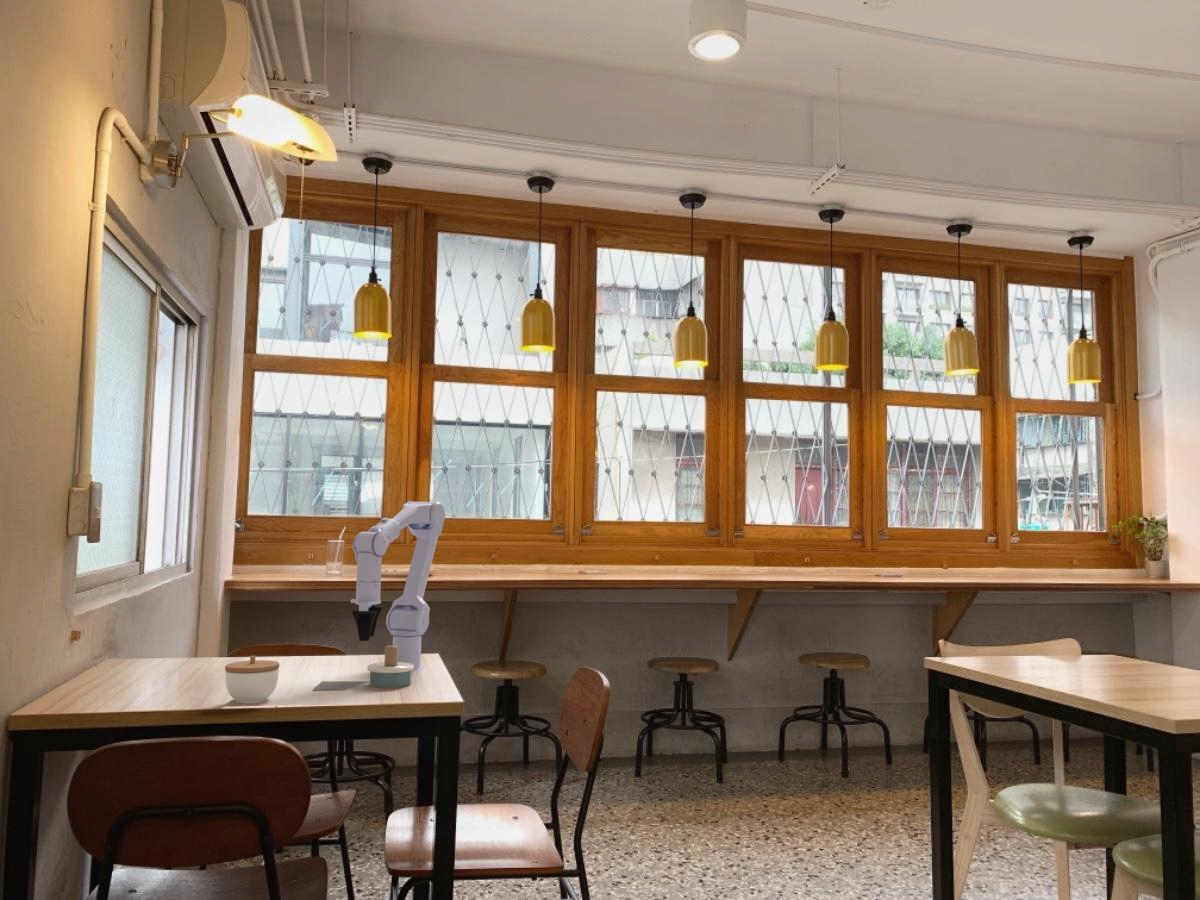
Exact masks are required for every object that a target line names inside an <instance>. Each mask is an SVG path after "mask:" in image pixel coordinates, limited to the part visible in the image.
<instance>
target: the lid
mask: <svg viewBox="0 0 1200 900" xmlns="http://www.w3.org/2000/svg"><path fill="white" fill-rule="evenodd" d="M413 669H414V665H413V664H411V663H405V662H398V646H393V645H385V646H384V661H383V662H375V663H370V664H369V665H367V671H369V672H370V671H371V672H376V673H400V672H408V671H411V670H412V671H414V670H413Z"/></svg>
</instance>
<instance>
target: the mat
mask: <svg viewBox="0 0 1200 900" xmlns="http://www.w3.org/2000/svg"><path fill="white" fill-rule="evenodd" d="M367 683H370V680H369V681H365V680H364V681H363V680H362V681H361V680H359V681H357V680H355V681H353V680H352V681H349V680H346V681H339V680H337V681H336V680H335V681H325V680H324V681H321V682H320V683H318V684H317V685H316V686H315V687H314V688H313V689H312V690H311V691H312V692H327V691H329V692H333V691H348V690H350V689H353V688H356V687H359V686H362V685H365V684H367Z"/></svg>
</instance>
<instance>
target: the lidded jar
mask: <svg viewBox="0 0 1200 900" xmlns="http://www.w3.org/2000/svg"><path fill="white" fill-rule="evenodd" d="M224 667H225V668H224V669H225V670H224V671H225V685H226V689H227V692H228V694H229V696H230V697H231V698H232V699H233V700H235V702H236V703H237V704H256V703H262V702H265V701H267V700H268V698H270V697H271V695H273V693H275V690H276V688H277V685H278V680H279V673H280V672H279V671H280V669H279V668H280V662H278V661H276V660H270V659H269V660H266V659H265V660H264V659H262V660H260V659H257V660H256V655H251V656H249V660H242V661H233V662H231V663H227V664H226V665H225V666H224Z"/></svg>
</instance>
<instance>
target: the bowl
mask: <svg viewBox="0 0 1200 900" xmlns="http://www.w3.org/2000/svg"><path fill="white" fill-rule="evenodd" d="M369 672H370V673H369V674H370V675H369V676H370V677H369V687H371V688H372V687H373V688H378V689H396V688H403V687H409V686H411V684H412V681H413V678H412V677H413V670H411V671H408V672H400V673H376V672H371V671H369Z"/></svg>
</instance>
